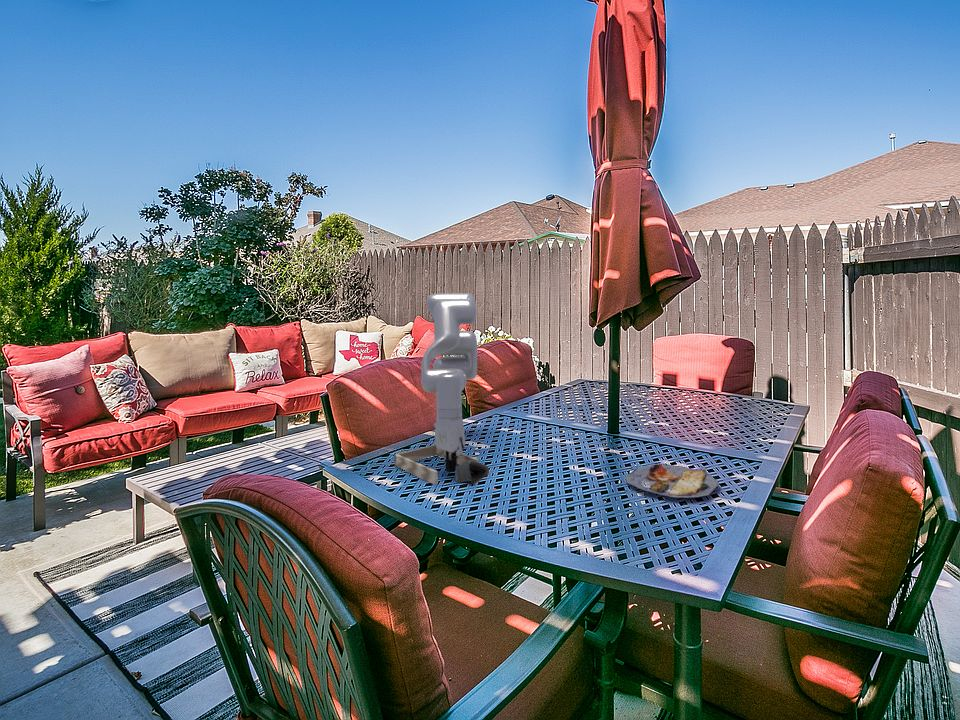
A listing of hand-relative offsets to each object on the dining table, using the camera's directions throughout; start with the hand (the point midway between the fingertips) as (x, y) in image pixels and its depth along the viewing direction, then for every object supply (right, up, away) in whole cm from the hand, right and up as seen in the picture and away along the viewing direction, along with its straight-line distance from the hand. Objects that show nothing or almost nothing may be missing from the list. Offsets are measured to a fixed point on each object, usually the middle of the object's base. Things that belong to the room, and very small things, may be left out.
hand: (451, 470), depth 158 cm
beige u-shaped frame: (-5, -1, +6) cm, 8 cm away
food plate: (+64, -2, -12) cm, 65 cm away
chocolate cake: (+6, -2, -2) cm, 7 cm away
